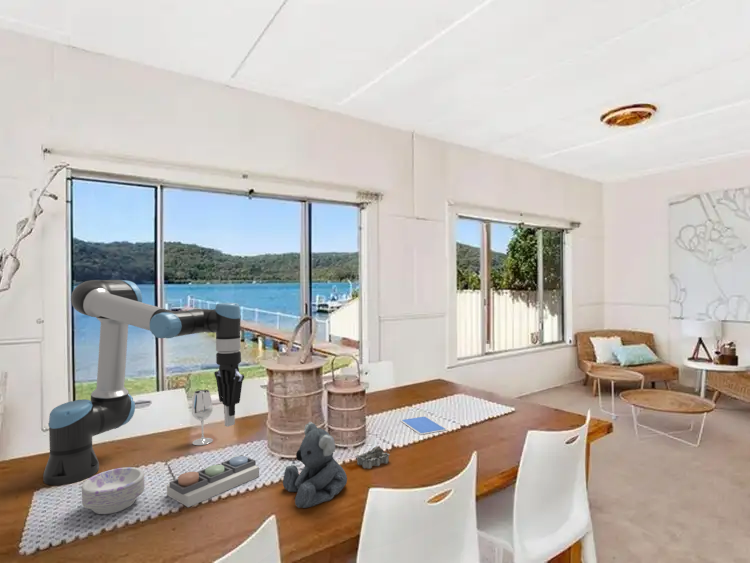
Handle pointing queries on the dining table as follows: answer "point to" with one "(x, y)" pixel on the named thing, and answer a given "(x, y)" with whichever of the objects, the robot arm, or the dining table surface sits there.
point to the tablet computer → (423, 425)
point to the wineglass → (202, 412)
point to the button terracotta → (188, 478)
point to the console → (213, 483)
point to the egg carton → (373, 458)
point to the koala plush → (315, 469)
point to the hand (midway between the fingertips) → (229, 425)
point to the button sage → (214, 470)
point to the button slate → (238, 461)
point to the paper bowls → (113, 490)
